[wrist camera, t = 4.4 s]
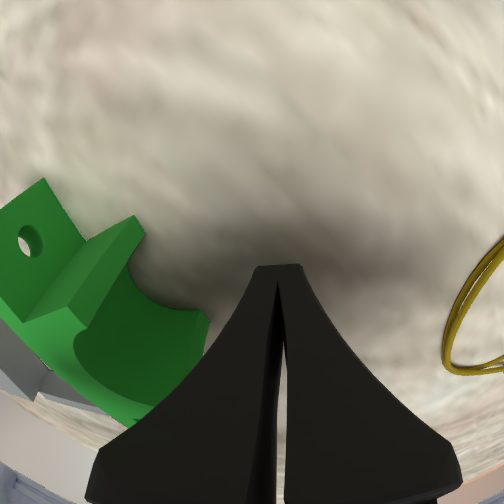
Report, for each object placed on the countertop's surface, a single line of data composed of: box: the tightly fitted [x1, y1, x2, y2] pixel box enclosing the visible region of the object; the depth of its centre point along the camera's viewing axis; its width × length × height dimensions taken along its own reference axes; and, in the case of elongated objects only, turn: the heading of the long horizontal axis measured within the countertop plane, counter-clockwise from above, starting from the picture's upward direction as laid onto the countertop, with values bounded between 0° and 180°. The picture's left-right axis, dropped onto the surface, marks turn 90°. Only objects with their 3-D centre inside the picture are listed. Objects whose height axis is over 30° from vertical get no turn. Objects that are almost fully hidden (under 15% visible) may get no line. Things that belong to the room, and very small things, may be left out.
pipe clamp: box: [0, 178, 210, 428], centre depth 9 cm, size 11×4×5 cm, turn 25°
